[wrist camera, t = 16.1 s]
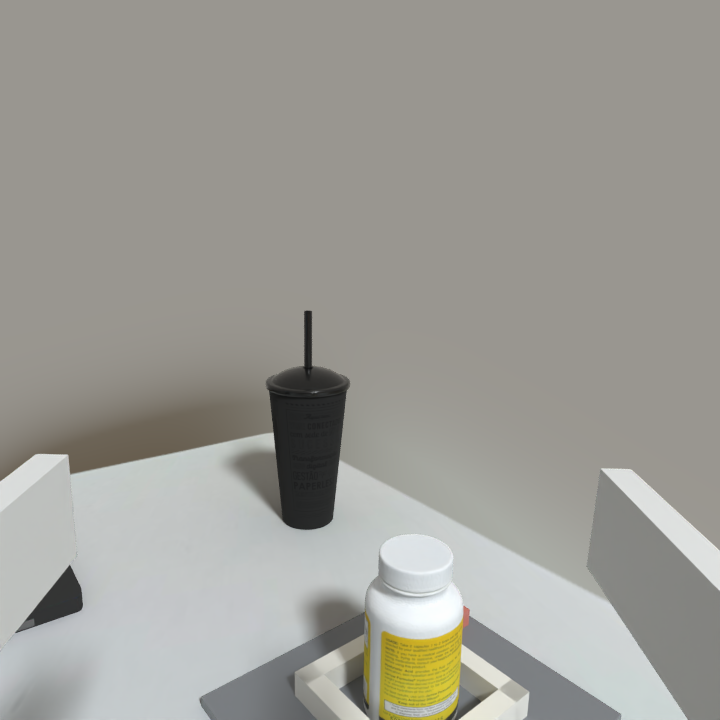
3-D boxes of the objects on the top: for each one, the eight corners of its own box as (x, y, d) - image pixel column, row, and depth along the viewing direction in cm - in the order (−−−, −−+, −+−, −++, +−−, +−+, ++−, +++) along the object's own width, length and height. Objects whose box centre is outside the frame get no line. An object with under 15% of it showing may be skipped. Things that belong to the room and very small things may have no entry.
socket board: (201, 705, 34) (200, 673, 34) (419, 590, 46) (420, 565, 45) (386, 966, 22) (388, 922, 22) (619, 723, 34) (624, 690, 33)
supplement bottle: (478, 717, 33) (488, 560, 31) (401, 764, 30) (407, 595, 28) (416, 658, 37) (422, 518, 35) (344, 695, 34) (345, 544, 32)
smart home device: (-53, 638, 38) (-66, 516, 53) (-49, 661, 38) (-63, 533, 54) (86, 592, 43) (37, 493, 58) (88, 613, 43) (39, 509, 59)
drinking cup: (324, 545, 52) (326, 320, 48) (252, 526, 55) (247, 313, 51) (360, 509, 59) (364, 309, 54) (294, 493, 62) (293, 303, 57)
